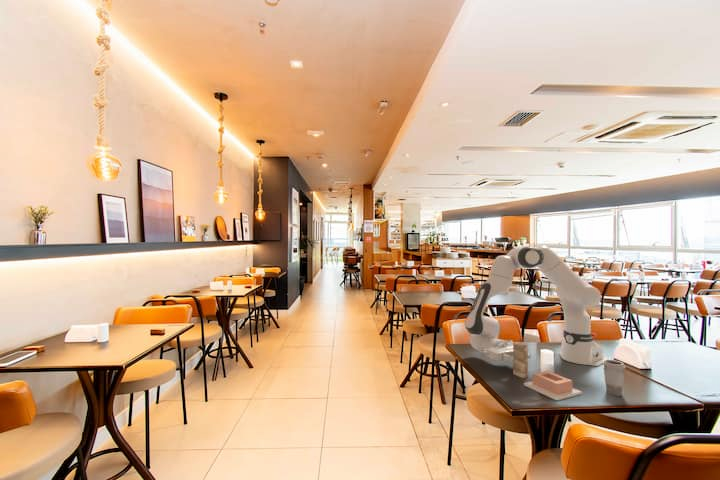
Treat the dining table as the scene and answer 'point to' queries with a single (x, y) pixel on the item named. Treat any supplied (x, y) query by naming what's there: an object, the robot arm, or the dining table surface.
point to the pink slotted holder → (552, 385)
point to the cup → (614, 376)
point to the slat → (520, 359)
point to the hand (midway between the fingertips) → (521, 357)
